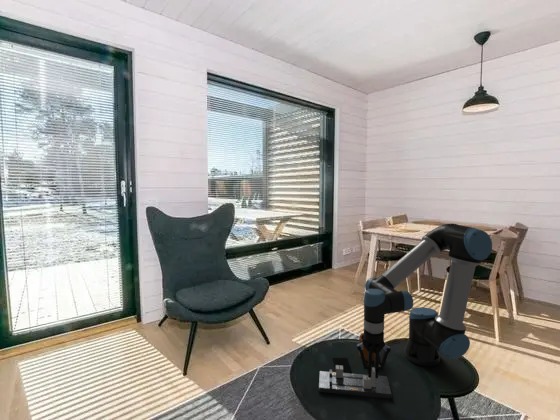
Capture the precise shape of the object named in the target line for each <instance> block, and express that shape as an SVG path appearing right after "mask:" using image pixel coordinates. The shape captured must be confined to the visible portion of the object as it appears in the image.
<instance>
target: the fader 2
mask: <svg viewBox="0 0 560 420" xmlns="http://www.w3.org/2000/svg"><path fill="white" fill-rule="evenodd" d="M367 375H368V374H363V388H365V389H371V378H369V377H368V376H367Z"/></svg>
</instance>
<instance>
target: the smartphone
mask: <svg viewBox="0 0 560 420" xmlns="http://www.w3.org/2000/svg"><path fill="white" fill-rule="evenodd" d="M332 364H333V369H334V372H336V365H340V366H343V373H350V374H353V372H352V369H351V365H350V362H349V359H348V358H347V357H333V358H332Z"/></svg>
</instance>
